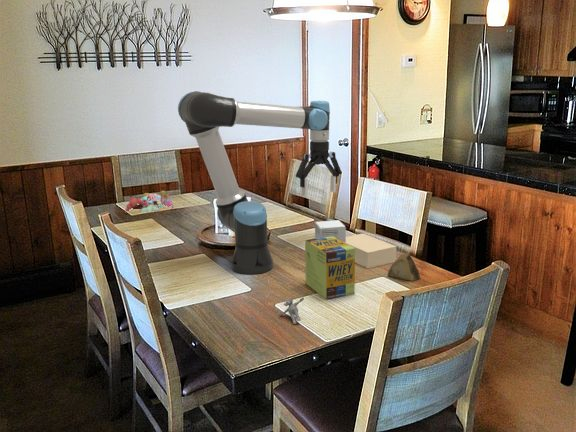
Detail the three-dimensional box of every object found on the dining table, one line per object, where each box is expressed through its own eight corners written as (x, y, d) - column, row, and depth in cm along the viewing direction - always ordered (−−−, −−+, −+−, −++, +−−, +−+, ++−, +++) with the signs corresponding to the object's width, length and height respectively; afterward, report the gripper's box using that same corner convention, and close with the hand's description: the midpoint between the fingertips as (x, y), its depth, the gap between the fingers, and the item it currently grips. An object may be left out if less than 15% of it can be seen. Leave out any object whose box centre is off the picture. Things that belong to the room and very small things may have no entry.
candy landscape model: (131, 205, 303) (129, 189, 301) (175, 203, 306) (173, 187, 304) (123, 217, 279) (121, 199, 277) (170, 215, 282) (169, 197, 280)
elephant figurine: (278, 326, 157) (272, 306, 164) (290, 335, 160) (283, 314, 167) (303, 308, 155) (296, 288, 162) (315, 317, 158) (307, 297, 165)
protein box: (326, 300, 174) (325, 252, 170) (305, 283, 188) (304, 239, 184) (355, 294, 178) (355, 247, 174) (332, 278, 192) (332, 235, 188)
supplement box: (346, 272, 197) (346, 226, 192) (320, 274, 195) (320, 228, 191) (339, 263, 206) (339, 219, 201) (315, 265, 204) (314, 221, 200)
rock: (379, 270, 192) (397, 275, 183) (389, 249, 193) (408, 253, 185) (399, 283, 196) (418, 288, 188) (408, 262, 198) (427, 266, 190)
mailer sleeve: (395, 261, 206) (396, 246, 204) (367, 268, 200) (367, 252, 198) (363, 247, 223) (363, 233, 221) (336, 253, 217) (336, 238, 215)
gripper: (296, 143, 211) (296, 198, 216) (351, 140, 223) (349, 192, 228) (287, 141, 217) (287, 194, 223) (340, 138, 229) (339, 188, 234)
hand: (318, 193), depth 225 cm, fingers open, 13 cm apart
